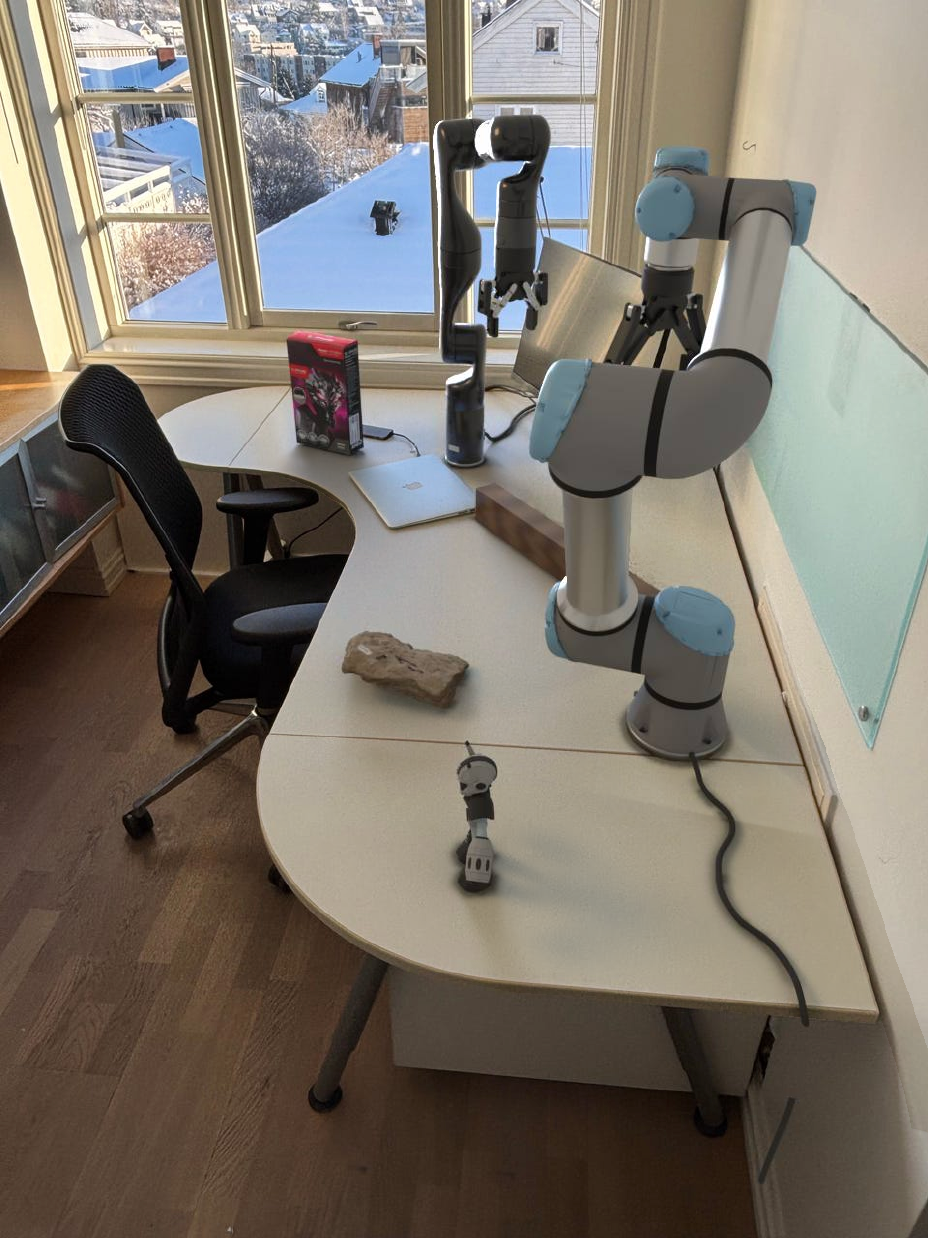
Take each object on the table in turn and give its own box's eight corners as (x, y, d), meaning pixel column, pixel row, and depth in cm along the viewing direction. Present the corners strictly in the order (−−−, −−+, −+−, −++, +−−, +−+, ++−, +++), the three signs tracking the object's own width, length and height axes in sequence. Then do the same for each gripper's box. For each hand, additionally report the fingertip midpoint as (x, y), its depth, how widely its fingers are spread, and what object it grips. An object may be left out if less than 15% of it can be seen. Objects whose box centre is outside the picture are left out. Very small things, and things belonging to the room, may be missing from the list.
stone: (317, 681, 147) (323, 648, 145) (352, 647, 161) (358, 617, 158) (439, 725, 144) (448, 692, 141) (465, 687, 157) (473, 656, 155)
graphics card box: (294, 443, 234) (283, 336, 218) (310, 434, 239) (300, 328, 224) (350, 457, 227) (343, 347, 212) (366, 447, 232) (360, 339, 217)
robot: (499, 928, 112) (505, 811, 101) (459, 930, 112) (460, 812, 101) (488, 811, 128) (491, 699, 117) (453, 812, 128) (453, 700, 117)
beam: (660, 629, 166) (665, 594, 162) (639, 637, 164) (644, 602, 160) (494, 513, 203) (495, 482, 199) (475, 518, 201) (475, 487, 197)
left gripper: (535, 233, 170) (530, 322, 179) (470, 242, 164) (469, 333, 173) (560, 241, 165) (554, 332, 174) (494, 250, 158) (491, 344, 167)
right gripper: (711, 249, 143) (691, 382, 155) (586, 269, 132) (575, 411, 144) (748, 259, 138) (724, 396, 150) (621, 281, 127) (606, 426, 139)
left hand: (512, 332), depth 173 cm, fingers open, 8 cm apart
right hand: (651, 403), depth 147 cm, fingers open, 13 cm apart
